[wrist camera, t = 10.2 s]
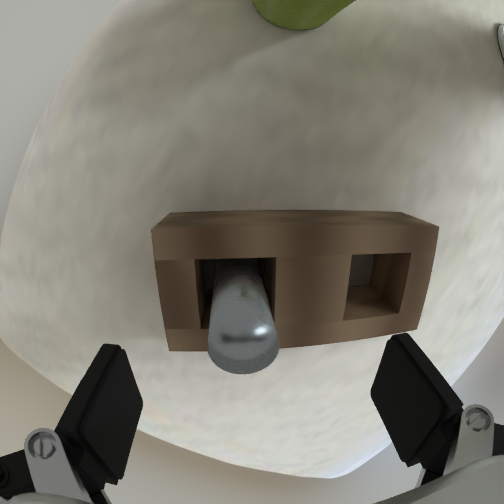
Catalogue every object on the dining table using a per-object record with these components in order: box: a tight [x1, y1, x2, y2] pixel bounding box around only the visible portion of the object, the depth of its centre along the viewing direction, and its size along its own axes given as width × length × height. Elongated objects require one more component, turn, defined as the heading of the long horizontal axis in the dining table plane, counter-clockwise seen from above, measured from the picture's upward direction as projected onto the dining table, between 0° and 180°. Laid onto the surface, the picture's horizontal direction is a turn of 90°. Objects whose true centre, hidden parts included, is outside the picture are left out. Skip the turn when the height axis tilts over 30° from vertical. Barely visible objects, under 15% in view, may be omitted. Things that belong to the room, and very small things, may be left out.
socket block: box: [151, 210, 439, 351], centre depth 19 cm, size 18×8×5 cm, turn 90°
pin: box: [207, 258, 279, 374], centre depth 16 cm, size 3×3×10 cm
